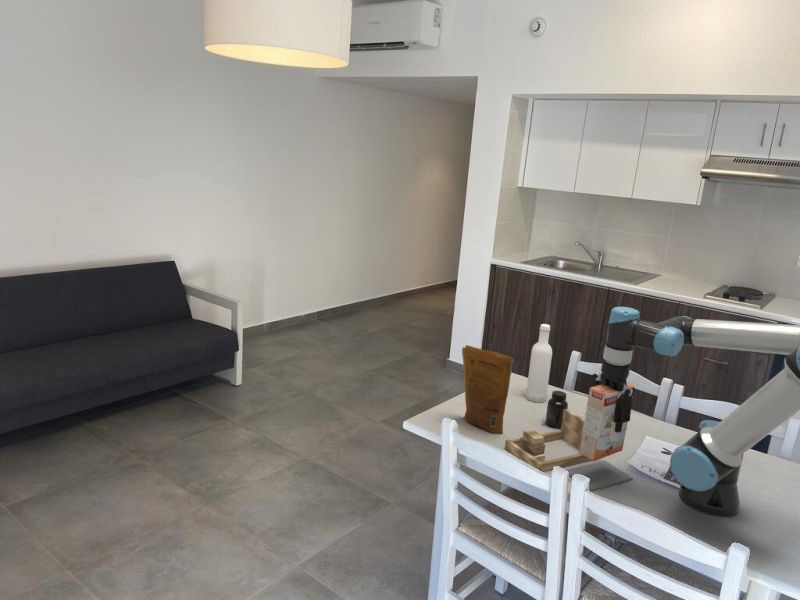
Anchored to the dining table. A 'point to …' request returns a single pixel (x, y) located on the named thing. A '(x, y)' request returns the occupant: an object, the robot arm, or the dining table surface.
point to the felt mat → (601, 474)
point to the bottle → (539, 367)
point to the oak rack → (568, 432)
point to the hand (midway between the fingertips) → (604, 435)
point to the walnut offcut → (531, 447)
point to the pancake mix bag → (486, 387)
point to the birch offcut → (539, 457)
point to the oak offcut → (533, 437)
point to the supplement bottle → (556, 409)
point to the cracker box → (601, 423)
